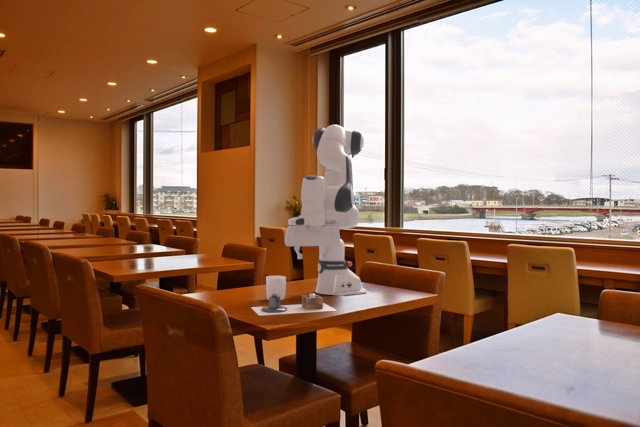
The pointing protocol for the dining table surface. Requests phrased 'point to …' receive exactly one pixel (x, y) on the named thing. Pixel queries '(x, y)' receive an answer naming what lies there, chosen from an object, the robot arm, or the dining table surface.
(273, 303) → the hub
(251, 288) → the dining table surface
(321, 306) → the collar
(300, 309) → the board
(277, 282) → the white cup
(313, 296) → the stand rod
